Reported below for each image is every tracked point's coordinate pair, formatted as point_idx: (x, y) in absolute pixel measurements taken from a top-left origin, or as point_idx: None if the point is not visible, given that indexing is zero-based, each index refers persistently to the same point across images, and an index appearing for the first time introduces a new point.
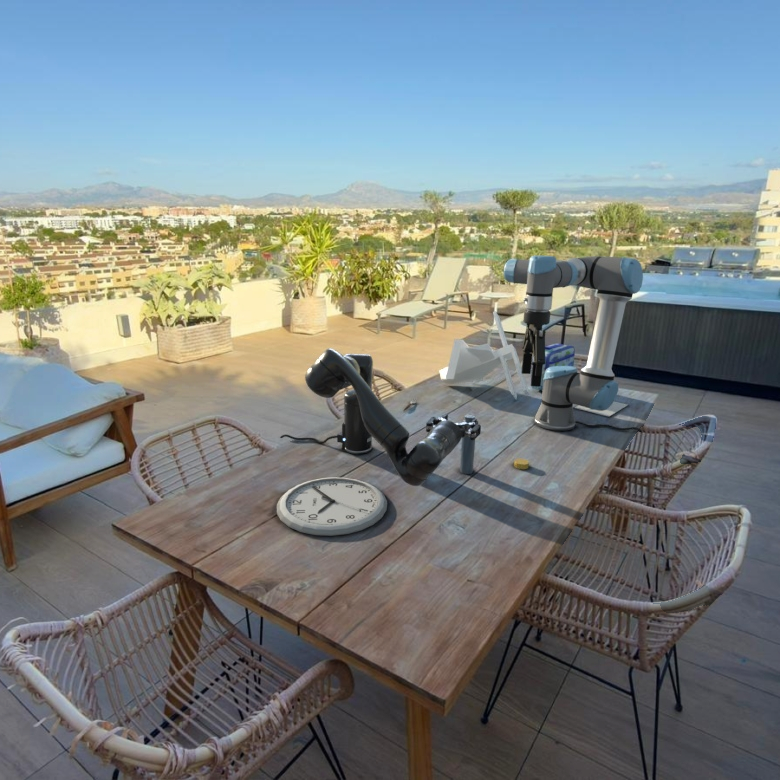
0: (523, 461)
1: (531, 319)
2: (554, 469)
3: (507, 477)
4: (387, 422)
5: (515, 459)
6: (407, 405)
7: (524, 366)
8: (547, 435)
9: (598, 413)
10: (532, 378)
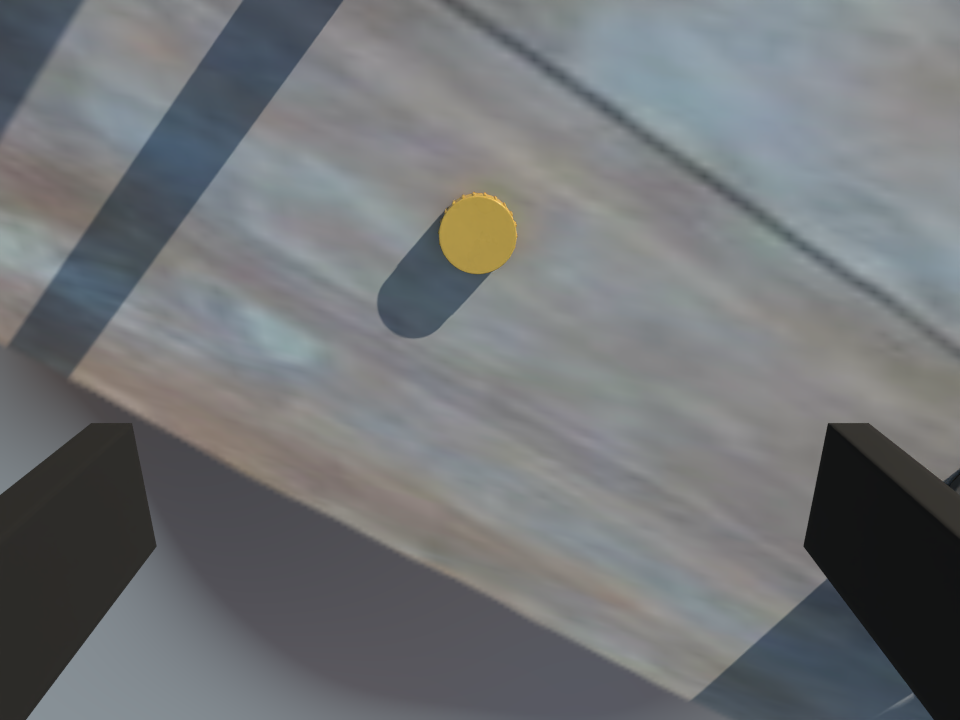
0: (477, 245)
1: None
2: (457, 388)
3: (335, 129)
4: None
5: (501, 205)
6: None
7: (895, 525)
8: None
9: None
10: (11, 500)
